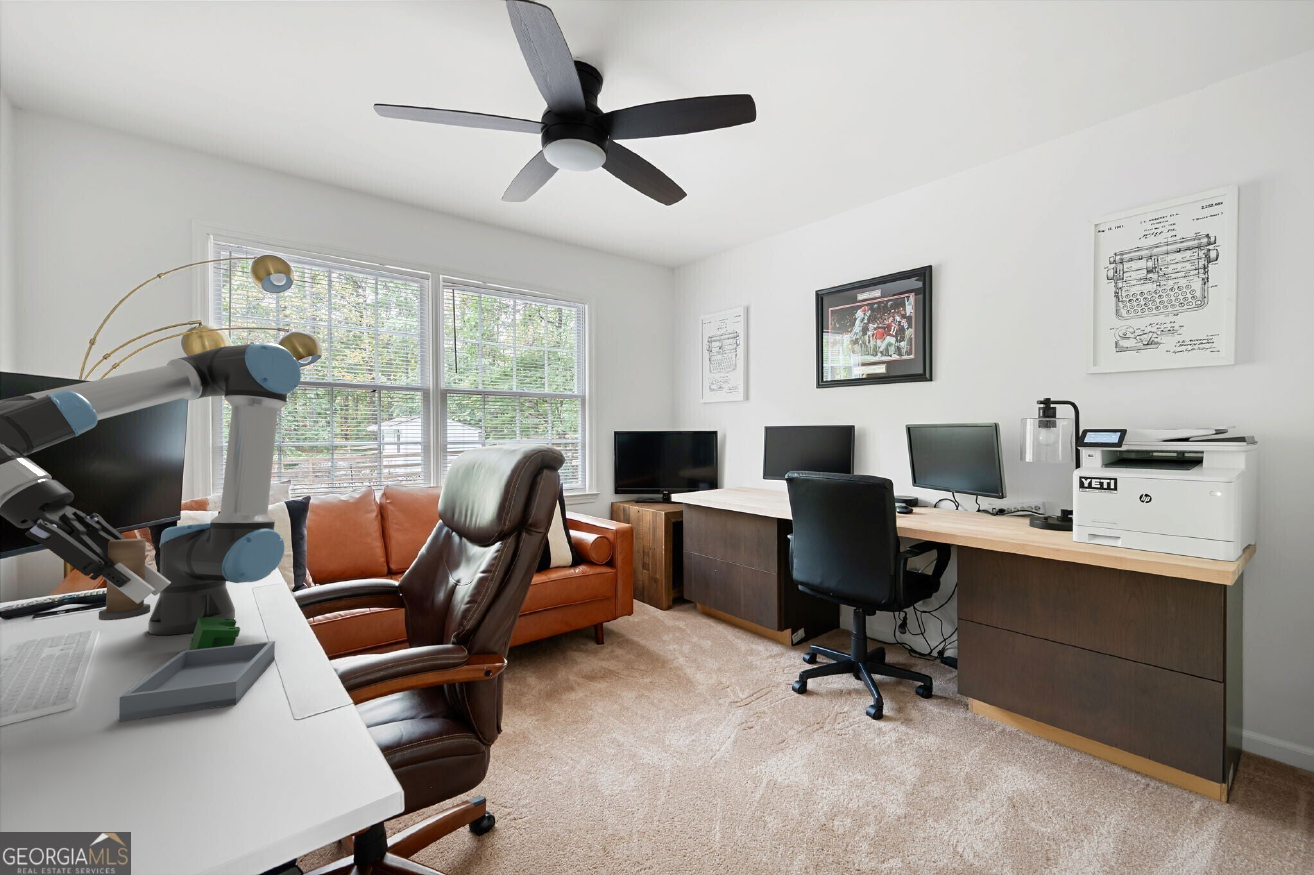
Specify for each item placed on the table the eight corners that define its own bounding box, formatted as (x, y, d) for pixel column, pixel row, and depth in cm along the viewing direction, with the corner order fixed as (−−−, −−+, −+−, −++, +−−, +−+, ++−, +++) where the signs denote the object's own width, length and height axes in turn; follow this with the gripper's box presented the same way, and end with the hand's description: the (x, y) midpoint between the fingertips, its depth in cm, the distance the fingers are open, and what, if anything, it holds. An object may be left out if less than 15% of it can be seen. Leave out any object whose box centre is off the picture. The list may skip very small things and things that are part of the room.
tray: (181, 670, 98) (182, 651, 98) (274, 659, 103) (274, 640, 103) (119, 721, 79) (119, 696, 79) (235, 704, 84) (236, 681, 84)
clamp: (225, 676, 106) (241, 636, 105) (186, 677, 102) (202, 635, 101) (226, 637, 115) (241, 600, 114) (191, 637, 111) (205, 598, 110)
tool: (112, 611, 90) (115, 538, 91) (157, 608, 92) (159, 537, 93) (89, 621, 85) (91, 544, 85) (137, 618, 87) (140, 542, 87)
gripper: (43, 507, 92) (162, 597, 97) (-48, 518, 76) (100, 626, 81) (85, 475, 94) (199, 565, 99) (5, 479, 78) (146, 587, 83)
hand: (154, 592), depth 90 cm, fingers closed on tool, 4 cm apart
